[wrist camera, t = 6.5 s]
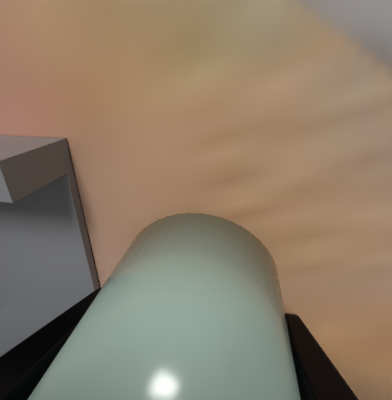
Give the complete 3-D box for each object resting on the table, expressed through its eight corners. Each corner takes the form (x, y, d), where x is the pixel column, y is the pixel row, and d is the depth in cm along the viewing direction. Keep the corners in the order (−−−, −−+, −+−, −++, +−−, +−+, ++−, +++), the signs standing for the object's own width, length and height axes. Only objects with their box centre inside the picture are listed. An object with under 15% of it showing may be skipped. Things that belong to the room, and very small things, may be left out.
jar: (268, 342, 11) (308, 729, 4) (132, 321, 12) (0, 617, 5) (295, 219, 8) (506, 773, 2) (114, 203, 9) (-210, 523, 2)
